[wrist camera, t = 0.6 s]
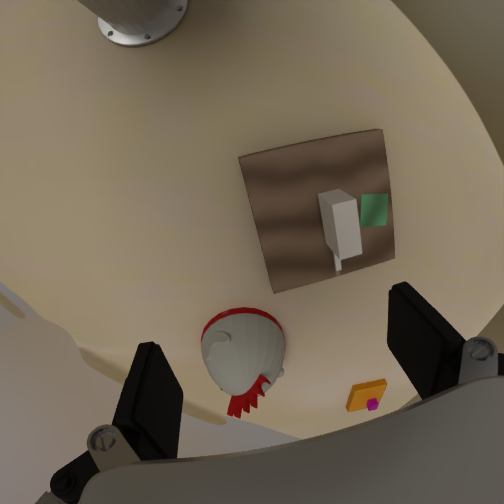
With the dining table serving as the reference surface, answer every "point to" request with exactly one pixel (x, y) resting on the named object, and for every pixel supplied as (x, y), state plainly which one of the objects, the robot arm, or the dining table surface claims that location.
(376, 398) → the orange block with cube
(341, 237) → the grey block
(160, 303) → the dining table surface
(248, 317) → the chicken figurine
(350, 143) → the dial board
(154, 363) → the robot arm
